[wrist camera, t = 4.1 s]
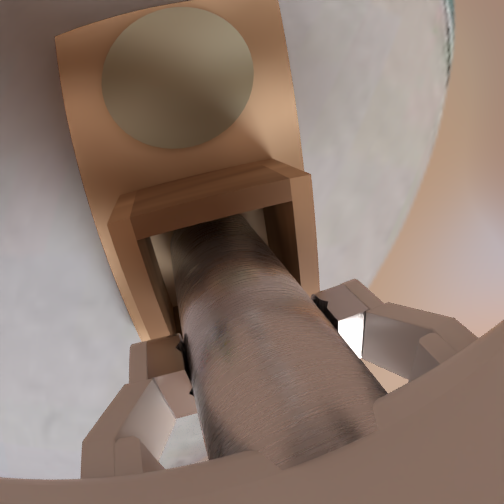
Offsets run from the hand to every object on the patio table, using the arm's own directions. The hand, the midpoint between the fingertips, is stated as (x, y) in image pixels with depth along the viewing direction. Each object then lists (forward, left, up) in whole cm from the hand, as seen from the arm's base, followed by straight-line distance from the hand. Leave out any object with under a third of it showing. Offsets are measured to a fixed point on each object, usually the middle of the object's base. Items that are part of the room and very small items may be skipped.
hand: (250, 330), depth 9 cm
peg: (0, 0, -7) cm, 7 cm away
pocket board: (-3, 0, -8) cm, 8 cm away
